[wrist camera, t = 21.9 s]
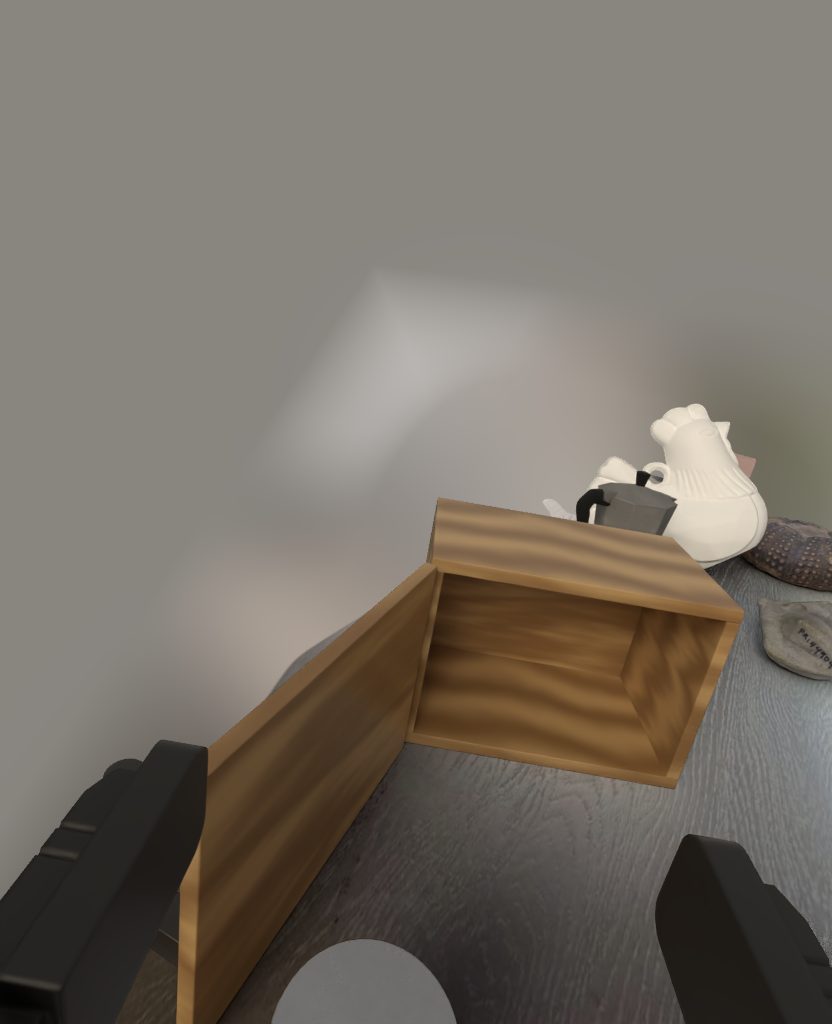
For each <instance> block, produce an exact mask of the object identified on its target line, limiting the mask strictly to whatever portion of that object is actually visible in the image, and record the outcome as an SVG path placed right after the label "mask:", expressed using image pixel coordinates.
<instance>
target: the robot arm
mask: <svg viewBox="0 0 832 1024" xmlns="http://www.w3.org/2000/svg"><path fill="white" fill-rule="evenodd" d="M207 774H208V749H207V748H206V747H202V746H197V745H191V744H185V743H179V742H173V741H168V740H160V741H159V742H157V744H156V745H155V746H154V747H153V749H152V750H151V751H150V753H149V754H148V756H147V757H146V759H145V760H144V761H143V763H142V764H141V766H140V767H139V769H138V770H137V771H132V770H127V769H121V768H116V769H115V770H114V771H112V772H111V773H109V774H108V775H107V776H105V777H104V778H103V779H101V780H100V781H98V782H97V783H96V784H94V785H93V786H91V787H90V788H89V789H87V790H86V791H85V792H84V793H83V794H82V795H81V797H80V798H79V800H78V801H77V802H76V803H75V805H74V806H73V807H72V808H71V810H70V811H69V812H68V814H67V815H66V816H65V818H64V819H63V820H62V821H61V825H60V827H59V828H57V829H55V830H54V832H53V833H52V834H51V836H50V837H49V838H48V839H47V841H46V842H45V843H44V845H43V846H42V847H41V850H40V853H39V854H38V855H35V856H34V858H33V859H32V860H31V861H30V863H29V864H28V865H27V867H26V868H25V869H24V871H23V872H22V873H21V875H20V876H19V877H18V878H17V880H16V881H15V882H14V884H13V885H12V886H11V887H10V889H9V890H8V891H7V893H6V894H5V895H4V896H3V898H2V899H1V900H0V1024H114V1023H115V1021H116V1019H117V1016H118V1014H119V1012H120V1010H121V1008H122V1006H123V1004H124V1002H125V1000H126V998H127V996H128V993H129V991H130V989H131V987H132V985H133V983H134V981H135V979H136V977H137V975H138V973H139V970H140V968H141V966H142V964H143V962H144V960H145V958H146V956H147V954H148V952H149V950H150V947H151V945H152V943H153V941H154V939H155V937H156V935H157V933H158V931H159V929H160V927H161V924H162V922H163V920H164V918H165V916H166V914H167V912H168V910H169V908H170V906H171V904H172V901H173V899H174V897H175V895H176V893H177V891H178V889H179V887H180V885H181V883H182V880H183V878H184V876H185V874H186V872H187V870H188V868H189V866H190V864H191V862H192V860H193V857H194V855H195V853H196V850H197V847H198V845H199V841H200V838H201V835H202V831H203V827H204V822H205V814H206V795H207ZM655 921H656V930H657V936H658V940H659V944H660V947H661V950H662V953H663V956H664V959H665V962H666V965H667V968H668V971H669V974H670V977H671V980H672V984H673V987H674V990H675V993H676V996H677V999H678V1002H679V1005H680V1008H681V1011H682V1014H683V1017H684V1020H685V1023H686V1024H832V968H831V967H830V965H829V959H828V957H827V955H826V954H825V952H824V950H823V948H822V947H821V945H820V943H819V942H818V940H817V938H816V936H815V935H814V933H813V931H812V929H811V928H810V926H809V924H808V923H807V921H806V920H805V919H804V918H803V916H802V915H801V914H800V913H799V912H798V911H797V910H796V909H795V908H794V907H793V906H792V904H791V903H790V902H789V901H788V900H787V899H786V898H785V897H784V896H783V895H782V893H781V892H780V891H779V890H778V889H777V888H776V887H775V886H774V885H769V884H764V883H763V882H762V880H761V878H760V876H759V874H758V872H757V871H756V869H755V867H754V865H753V863H752V861H751V860H750V858H749V856H748V854H747V853H746V851H745V850H744V848H743V847H742V846H741V845H740V844H738V843H736V842H733V841H727V840H721V839H716V838H710V837H704V836H699V835H693V834H688V835H686V836H685V837H684V838H683V839H682V841H681V843H680V846H679V848H678V850H677V853H676V855H675V857H674V860H673V862H672V864H671V867H670V869H669V871H668V874H667V876H666V878H665V881H664V883H663V885H662V888H661V890H660V892H659V895H658V898H657V902H656V910H655Z"/></svg>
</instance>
